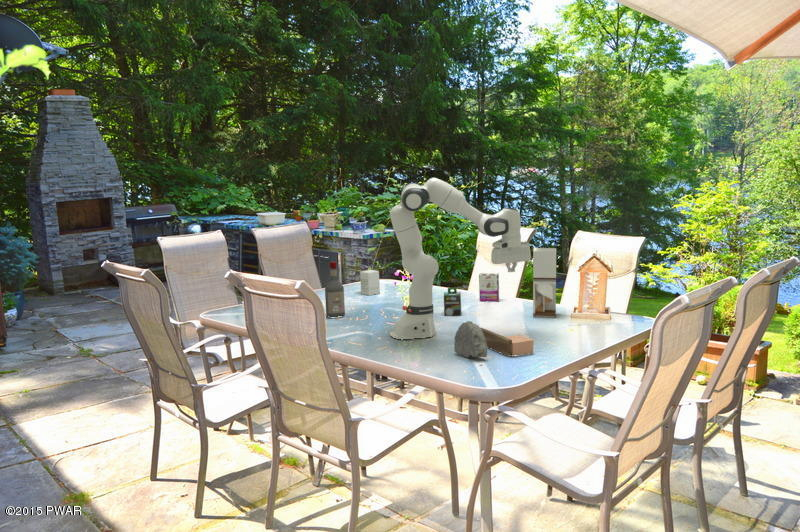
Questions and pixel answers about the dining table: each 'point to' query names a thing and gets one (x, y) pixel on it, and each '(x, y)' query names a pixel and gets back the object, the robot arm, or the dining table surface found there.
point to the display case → (544, 283)
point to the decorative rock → (470, 341)
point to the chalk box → (452, 303)
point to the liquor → (334, 294)
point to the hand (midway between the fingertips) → (511, 271)
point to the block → (521, 345)
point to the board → (498, 342)
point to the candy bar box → (489, 286)
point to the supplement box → (370, 282)
